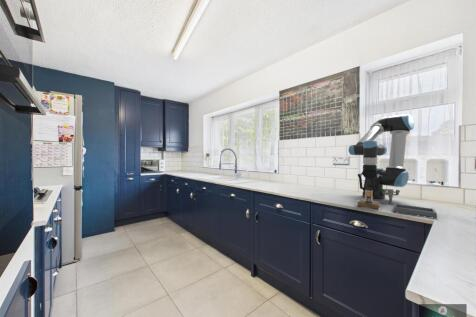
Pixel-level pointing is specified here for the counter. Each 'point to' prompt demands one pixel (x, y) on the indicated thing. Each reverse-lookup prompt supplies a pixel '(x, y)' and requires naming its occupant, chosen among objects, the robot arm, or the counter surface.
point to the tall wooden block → (369, 196)
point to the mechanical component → (390, 193)
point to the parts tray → (415, 210)
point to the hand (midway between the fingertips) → (368, 200)
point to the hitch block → (368, 204)
